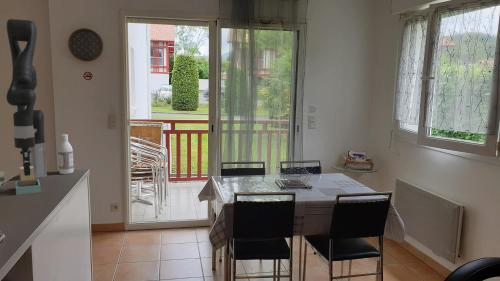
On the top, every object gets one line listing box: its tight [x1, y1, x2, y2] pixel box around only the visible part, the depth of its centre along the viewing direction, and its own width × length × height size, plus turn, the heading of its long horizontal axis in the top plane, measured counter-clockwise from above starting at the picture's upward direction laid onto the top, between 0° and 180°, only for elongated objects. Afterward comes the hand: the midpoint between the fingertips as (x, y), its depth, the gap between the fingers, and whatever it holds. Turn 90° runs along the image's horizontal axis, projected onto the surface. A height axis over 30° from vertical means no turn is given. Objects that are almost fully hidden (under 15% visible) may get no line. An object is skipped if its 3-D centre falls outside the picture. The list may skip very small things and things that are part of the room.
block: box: [18, 176, 37, 187], centre depth 166 cm, size 6×6×5 cm
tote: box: [14, 178, 42, 196], centre depth 167 cm, size 11×9×4 cm
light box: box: [19, 166, 34, 181], centre depth 166 cm, size 5×5×5 cm
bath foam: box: [57, 133, 75, 175], centre depth 198 cm, size 7×7×20 cm
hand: (27, 173), depth 166 cm, fingers open, 8 cm apart
